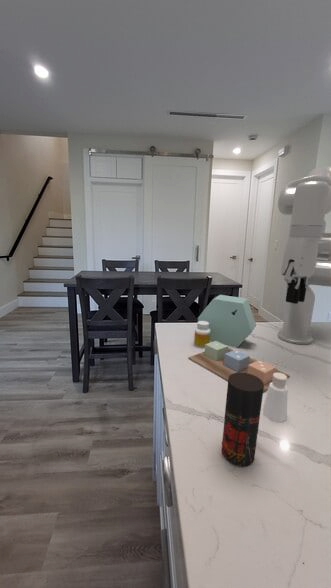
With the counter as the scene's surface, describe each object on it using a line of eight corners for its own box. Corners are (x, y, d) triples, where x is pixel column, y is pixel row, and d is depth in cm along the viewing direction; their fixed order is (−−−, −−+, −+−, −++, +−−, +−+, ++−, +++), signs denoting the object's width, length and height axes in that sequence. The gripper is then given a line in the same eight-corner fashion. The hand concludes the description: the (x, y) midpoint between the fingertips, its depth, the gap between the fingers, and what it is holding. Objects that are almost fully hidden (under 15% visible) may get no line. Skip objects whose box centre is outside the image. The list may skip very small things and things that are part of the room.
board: (221, 350, 93) (222, 345, 92) (288, 381, 74) (289, 375, 74) (188, 363, 83) (188, 357, 82) (255, 402, 65) (256, 395, 64)
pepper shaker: (265, 408, 63) (271, 366, 60) (289, 419, 59) (297, 374, 57) (256, 420, 58) (262, 375, 56) (282, 433, 55) (290, 385, 53)
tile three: (257, 372, 76) (259, 359, 75) (273, 380, 72) (275, 366, 71) (246, 378, 73) (248, 364, 72) (263, 386, 69) (265, 372, 68)
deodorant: (217, 441, 52) (223, 372, 49) (247, 440, 53) (255, 372, 49) (226, 468, 46) (234, 391, 43) (259, 466, 47) (270, 391, 44)
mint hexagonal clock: (230, 352, 102) (266, 314, 92) (224, 360, 95) (263, 320, 86) (197, 322, 106) (229, 283, 97) (189, 328, 99) (222, 286, 90)
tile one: (214, 352, 88) (215, 340, 87) (226, 357, 84) (227, 345, 83) (204, 356, 85) (205, 343, 84) (216, 362, 81) (217, 349, 80)
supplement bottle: (208, 353, 90) (210, 326, 88) (193, 351, 91) (194, 324, 89) (209, 346, 95) (211, 320, 93) (194, 344, 96) (196, 319, 94)
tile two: (234, 361, 82) (235, 349, 81) (248, 368, 78) (249, 355, 77) (223, 366, 79) (225, 353, 78) (237, 373, 75) (239, 359, 74)
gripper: (305, 233, 77) (295, 295, 81) (274, 232, 67) (266, 302, 71) (333, 234, 71) (322, 300, 75) (305, 233, 61) (293, 309, 65)
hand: (294, 301), depth 73 cm, fingers open, 2 cm apart
